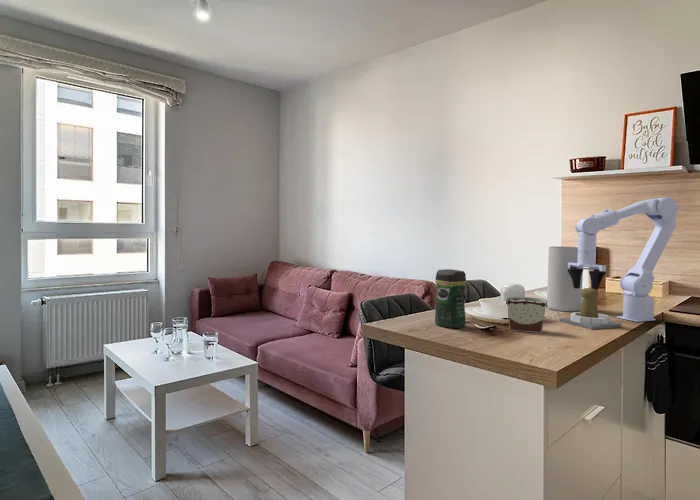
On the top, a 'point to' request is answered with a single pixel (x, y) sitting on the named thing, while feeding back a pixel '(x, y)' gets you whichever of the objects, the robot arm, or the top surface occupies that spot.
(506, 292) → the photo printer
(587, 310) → the cork
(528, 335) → the top surface
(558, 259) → the cylinder vase
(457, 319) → the coffee jar
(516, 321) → the food container
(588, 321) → the socket holder
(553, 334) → the top surface
